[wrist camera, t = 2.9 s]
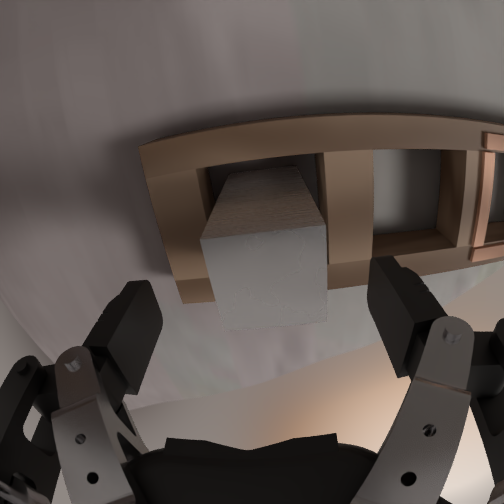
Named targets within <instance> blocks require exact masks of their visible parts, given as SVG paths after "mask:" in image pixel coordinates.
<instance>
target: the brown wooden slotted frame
mask: <svg viewBox="0 0 504 504" xmlns="http://www.w3.org/2000/svg"><path fill="white" fill-rule="evenodd" d="M138 149H139V154H140V158H141V162H142V166H143V171H144V175H145V179H146V183H147V187H148V190H149V194H150V198H151V202H152V206H153V209H154V213H155V216H156V220H157V224H158V227H159V230H160V234H161V237H162V241H163V244H164V247H165V250H166V254H167V257H168V260H169V263H170V266H171V270H172V273H173V276H174V279H175V282H176V285H177V288H178V291H179V294H180V296H181V299H182V302H183V304H187V303H201V302H214V301H216V300H215V297H214V293H213V289H212V285H211V282H210V278H209V274H208V270H207V267H206V263H205V259H204V255H203V251H202V247H201V243H200V238H201V236H202V234H203V231H204V229H205V227H206V224H207V222H208V220H209V217H210V215H211V213H212V211H213V208H214V206H215V200H214V195H213V190H212V185H211V180H210V175H209V170H208V167H209V166H215V165H221V164H228V163H234V162H241V161H248V160H256V159H263V158H272V157H280V156H289V155H299V154H310V153H315V164H316V176H317V188H318V203H319V212H320V214H321V216H322V218H323V220H324V222H325V224H326V242H327V290H330V289H338V288H345V287H353V286H360V285H367V284H368V279H369V267H370V260H371V258H372V257H378V256H386V255H392V256H393V257H394V258H395V259H396V260H397V262H398V263H399V264H400V266H401V267H407V268H409V269H411V270H412V271H414V272H415V273H417V274H418V275H419V276H424V275H430V274H436V273H442V272H447V271H453V270H458V269H463V268H468V267H473V266H479V265H483V264H488V263H493V262H498V261H503V260H504V221H499V222H490V223H488V218H489V212H490V205H491V197H492V189H493V179H494V166H495V153H494V152H497V153H504V124H501V123H495V122H489V121H483V120H476V119H469V118H461V117H452V116H441V115H429V114H413V113H379V112H366V113H331V114H314V115H301V116H290V117H280V118H271V119H263V120H255V121H248V122H241V123H235V124H228V125H222V126H217V127H211V128H206V129H201V130H196V131H191V132H186V133H181V134H177V135H172V136H168V137H164V138H160V139H156V140H154V141H151V142H148V143H146V144H143V145H141V146H138ZM375 149H441V175H440V192H439V204H438V215H437V224H436V228H434V229H425V230H416V231H407V232H397V233H388V234H379V235H373V212H374V177H373V150H375Z"/></svg>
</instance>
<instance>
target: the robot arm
mask: <svg viewBox="0 0 504 504" xmlns="http://www.w3.org/2000/svg"><path fill="white" fill-rule="evenodd" d="M367 302H368V307H369V311H370V313H371V315H372V317H373V320H374V322H375V324H376V327H377V329H378V331H379V334H380V336H381V338H382V341H383V343H384V346H385V348H386V350H387V353H388V355H389V358H390V360H391V363H392V365H393V368H394V370H395V373H396V375H397V378H401V377H405V376H409V377H410V379H411V383H410V386H409V388H408V391H407V393H406V396H405V398H404V400H403V403H402V405H401V407H400V409H399V412H398V414H397V416H396V418H395V420H394V422H393V425H392V426H391V429H390V431H389V433H388V434H387V436H386V439H385V440H384V442H383V444H382V446H381V448H380V449H379V451H378V453H375V452H373V451H371V450H368V449H366V448H363V447H359V446H355V445H350V444H342V443H338V441H337V435H336V433H333V434H327V435H319V436H311V437H302V438H293V439H290V440H286V441H283V442H279V443H276V444H272V445H269V446H265V447H261V448H257V449H253V450H241V449H237V448H233V447H229V446H224V445H220V444H216V443H212V442H209V441H205V440H188V439H175V438H167V439H166V444H165V448H162V449H157V450H153V451H149V450H148V448H147V447H146V446H145V444H144V443H143V441H142V439H141V437H140V435H139V432H138V430H137V428H136V426H135V424H134V422H133V420H132V417H131V415H130V413H129V410H128V408H127V406H126V404H125V402H124V401H123V397H124V395H125V394H132V395H138V392H139V389H140V386H141V383H142V381H143V378H144V375H145V372H146V369H147V367H148V364H149V361H150V359H151V356H152V353H153V351H154V348H155V345H156V343H157V340H158V337H159V335H160V332H161V330H162V326H163V318H162V313H161V310H160V308H159V305H158V302H157V300H156V297H155V294H154V292H153V289H152V286H151V284H150V282H149V281H148V280H139V281H129V282H127V284H126V285H125V287H124V288H123V290H122V291H121V293H120V294H119V295H117V296H116V297H115V298H114V299H113V300H112V301H110V302H109V303H108V305H107V306H106V308H105V309H104V311H103V314H101V316H100V317H99V319H98V322H96V323H95V325H94V327H93V328H92V330H91V332H90V333H89V335H88V336H87V338H86V340H85V341H84V343H83V345H82V346H76V347H72V348H70V349H68V350H66V351H65V352H63V353H62V354H61V355H60V356H59V358H58V359H57V361H56V363H55V364H53V365H48V366H42V365H41V364H40V362H39V361H38V359H37V358H36V357H34V356H25V357H23V358H21V359H20V360H18V361H17V362H16V363H15V364H14V366H13V367H12V369H11V370H10V372H9V374H8V375H7V377H6V379H5V380H4V382H3V384H2V386H1V388H0V504H51V503H52V499H53V495H54V491H55V488H56V484H57V480H58V477H59V473H60V469H62V473H63V477H64V480H65V484H66V487H67V490H68V493H69V497H70V500H71V503H72V504H452V503H450V502H448V501H447V500H445V499H444V498H442V497H440V494H441V491H442V489H443V486H444V484H445V482H446V479H447V477H448V474H449V472H450V469H451V466H452V463H453V461H454V458H455V455H456V452H457V449H458V446H459V442H460V439H461V436H462V432H463V429H464V425H465V421H466V417H467V413H468V409H469V405H470V407H471V410H472V412H473V415H474V418H475V421H476V424H477V426H478V429H479V432H480V435H481V438H482V441H483V444H484V448H485V451H486V454H487V457H488V461H489V464H490V468H491V472H492V476H493V480H494V484H495V487H494V488H493V490H492V492H491V495H490V498H489V501H488V503H487V504H504V318H503V319H500V320H499V321H498V322H497V324H496V327H495V329H494V331H493V332H474V331H473V330H472V328H471V326H470V325H469V324H468V323H467V322H465V321H464V320H462V319H460V318H457V317H453V316H448V315H447V314H446V313H445V311H444V310H443V308H442V307H441V305H440V304H439V302H438V301H437V300H436V298H435V297H434V295H433V294H432V293H431V292H429V289H428V287H427V286H426V285H425V284H424V282H423V281H422V279H421V278H420V277H419V275H418V274H417V273H415V272H414V271H412V270H411V269H409V268H407V267H401V266H400V264H399V263H398V262H397V260H396V259H395V258H394V257H393V256H392V255H386V256H378V257H372V258H371V260H370V267H369V279H368V290H367ZM32 405H33V406H34V407H35V408H36V409H37V411H38V412H39V413H40V414H41V415H42V416H41V418H40V421H39V423H38V425H37V428H36V430H35V433H34V435H33V438H32V440H31V442H30V441H29V440H28V439H27V438H26V437H25V435H24V433H23V425H24V423H25V420H26V418H27V416H28V413H29V411H30V409H31V407H32Z"/></svg>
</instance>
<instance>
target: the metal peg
mask: <svg viewBox="0 0 504 504" xmlns="http://www.w3.org/2000/svg"><path fill="white" fill-rule="evenodd" d="M200 243H201V247H202V251H203V255H204V259H205V263H206V267H207V270H208V274H209V278H210V282H211V285H212V289H213V293H214V297H215V300H216V304H217V307H218V311H219V315H220V318H221V322H222V325H223V329H224V331H236V330H249V329H261V328H272V327H282V326H292V325H301V324H309V323H317V322H325V321H327V242H326V224H325V222H324V220H323V218H322V216H321V214H320V212H319V210H318V208H317V206H316V204H315V202H314V200H313V198H312V196H311V194H310V192H309V190H308V188H307V186H306V184H305V182H304V180H303V178H302V177H301V175H300V173H299V171H298V169H297V167H296V166H286V167H277V168H269V169H261V170H253V171H246V172H239V173H232V174H229V176H228V178H227V180H226V182H225V184H224V186H223V189H222V191H221V193H220V195H219V197H218V200H217V202H216V204H215V206H214V208H213V211H212V213H211V215H210V217H209V220H208V222H207V224H206V227H205V229H204V231H203V234H202V236H201V238H200Z"/></svg>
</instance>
